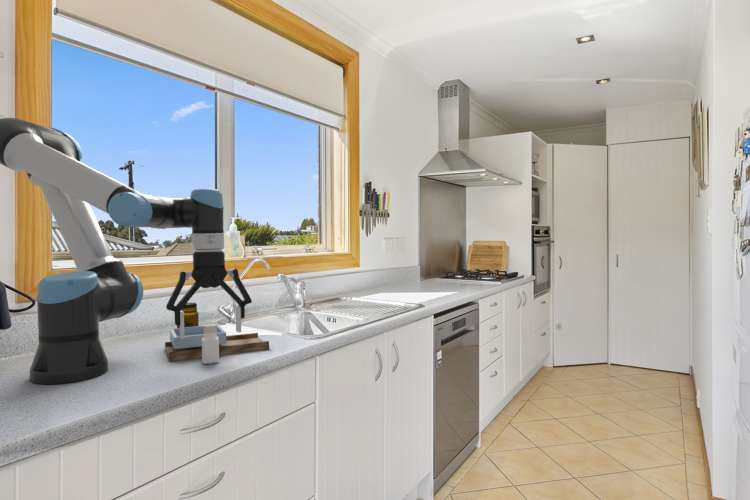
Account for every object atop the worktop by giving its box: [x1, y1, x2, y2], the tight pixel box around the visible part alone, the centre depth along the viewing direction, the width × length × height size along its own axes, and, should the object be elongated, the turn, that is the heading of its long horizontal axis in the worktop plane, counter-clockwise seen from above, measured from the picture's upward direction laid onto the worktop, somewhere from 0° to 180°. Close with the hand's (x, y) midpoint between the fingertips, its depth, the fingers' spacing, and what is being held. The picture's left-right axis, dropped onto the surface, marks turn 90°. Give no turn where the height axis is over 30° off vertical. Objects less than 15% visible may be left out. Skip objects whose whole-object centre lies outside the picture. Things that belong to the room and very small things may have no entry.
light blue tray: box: [169, 324, 227, 351], centre depth 127 cm, size 13×13×5 cm
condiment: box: [176, 302, 200, 328], centre depth 138 cm, size 7×8×12 cm
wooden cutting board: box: [164, 332, 270, 362], centre depth 129 cm, size 26×14×2 cm, turn 119°
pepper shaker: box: [201, 323, 220, 365], centre depth 116 cm, size 4×4×10 cm
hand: (211, 334), depth 116 cm, fingers open, 13 cm apart
